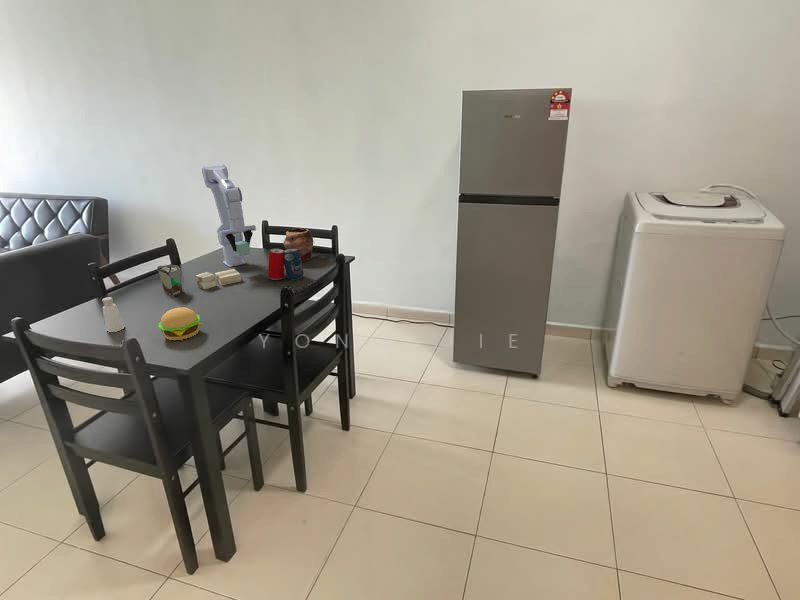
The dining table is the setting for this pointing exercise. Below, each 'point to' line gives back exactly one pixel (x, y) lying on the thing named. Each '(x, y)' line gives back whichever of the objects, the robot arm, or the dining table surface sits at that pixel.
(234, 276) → the beech base
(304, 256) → the decorative planter
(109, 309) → the pepper shaker
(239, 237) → the robot arm
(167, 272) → the food container
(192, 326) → the hamburger
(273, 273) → the beverage can
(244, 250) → the teal cube
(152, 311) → the dining table surface
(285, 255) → the soda can
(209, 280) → the maple cube
